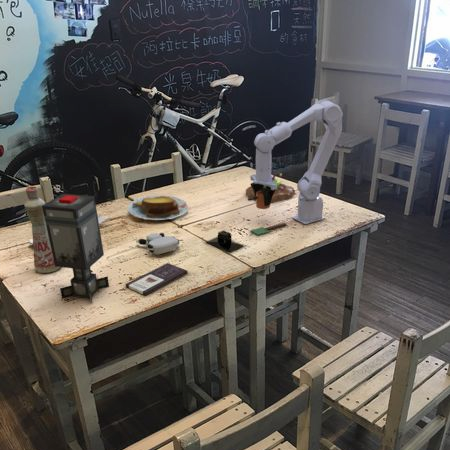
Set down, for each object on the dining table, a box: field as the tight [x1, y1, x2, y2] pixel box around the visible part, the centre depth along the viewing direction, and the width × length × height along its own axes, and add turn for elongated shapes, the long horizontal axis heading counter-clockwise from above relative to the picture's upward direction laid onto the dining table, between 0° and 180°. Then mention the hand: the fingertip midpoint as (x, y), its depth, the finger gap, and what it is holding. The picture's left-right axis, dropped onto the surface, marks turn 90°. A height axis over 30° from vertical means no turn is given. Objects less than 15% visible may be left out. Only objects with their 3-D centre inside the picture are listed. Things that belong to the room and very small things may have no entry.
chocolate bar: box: [125, 262, 188, 296], centre depth 160 cm, size 9×1×18 cm
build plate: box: [205, 230, 245, 253], centre depth 181 cm, size 12×7×5 cm, turn 45°
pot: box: [247, 190, 271, 210], centre depth 192 cm, size 10×5×7 cm, turn 121°
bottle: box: [23, 185, 62, 274], centre depth 162 cm, size 9×9×28 cm
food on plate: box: [127, 194, 189, 221], centre depth 210 cm, size 25×25×7 cm
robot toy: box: [135, 232, 184, 255], centre depth 180 cm, size 12×4×15 cm
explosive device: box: [42, 193, 110, 304], centre depth 147 cm, size 10×10×30 cm
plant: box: [245, 171, 296, 204], centre depth 224 cm, size 20×20×11 cm
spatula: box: [249, 222, 287, 237], centre depth 193 cm, size 14×5×1 cm, turn 121°
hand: (263, 203), depth 194 cm, fingers closed on pot, 5 cm apart
